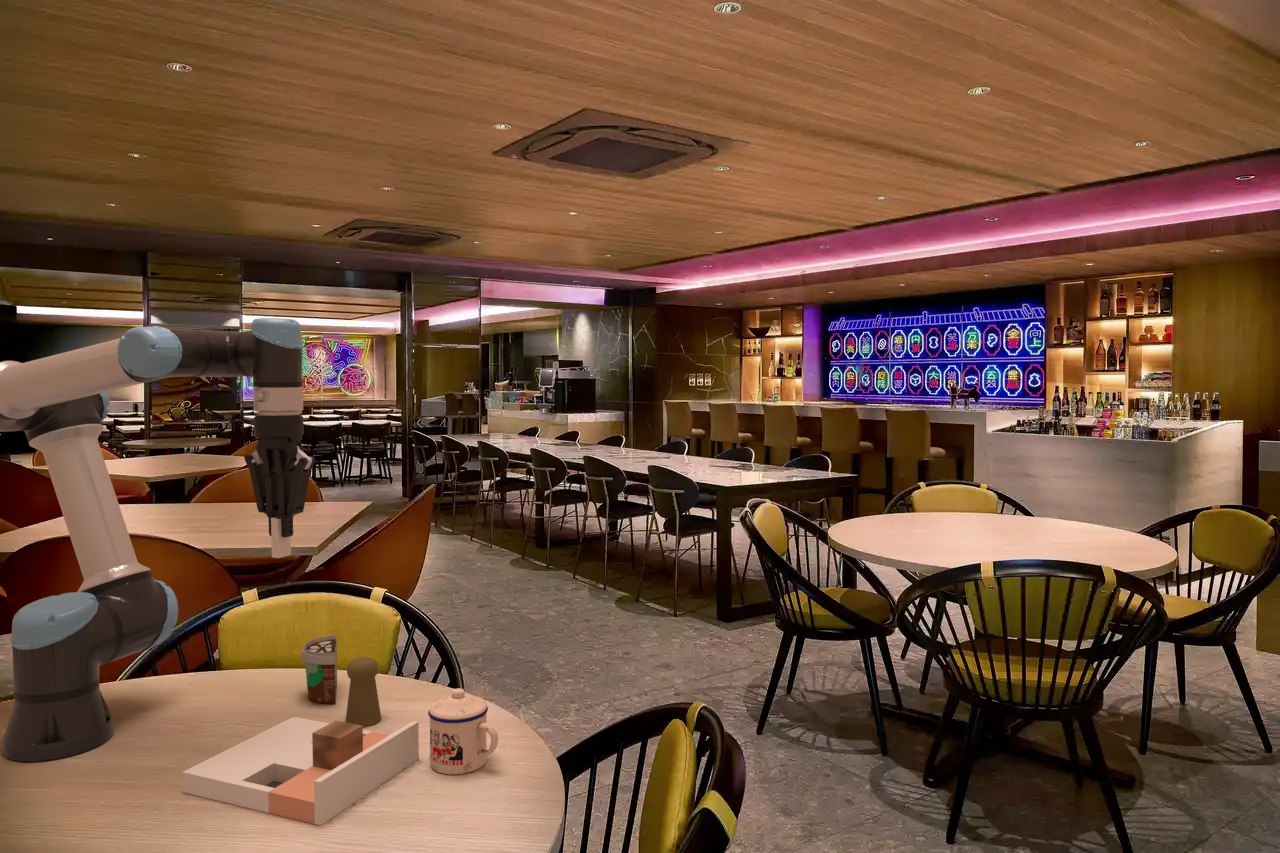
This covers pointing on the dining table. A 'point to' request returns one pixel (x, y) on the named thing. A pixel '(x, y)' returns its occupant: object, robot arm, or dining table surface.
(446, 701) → the teacup with lid
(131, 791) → the dining table surface
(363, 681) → the cork
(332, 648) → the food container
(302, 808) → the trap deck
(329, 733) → the walnut block
